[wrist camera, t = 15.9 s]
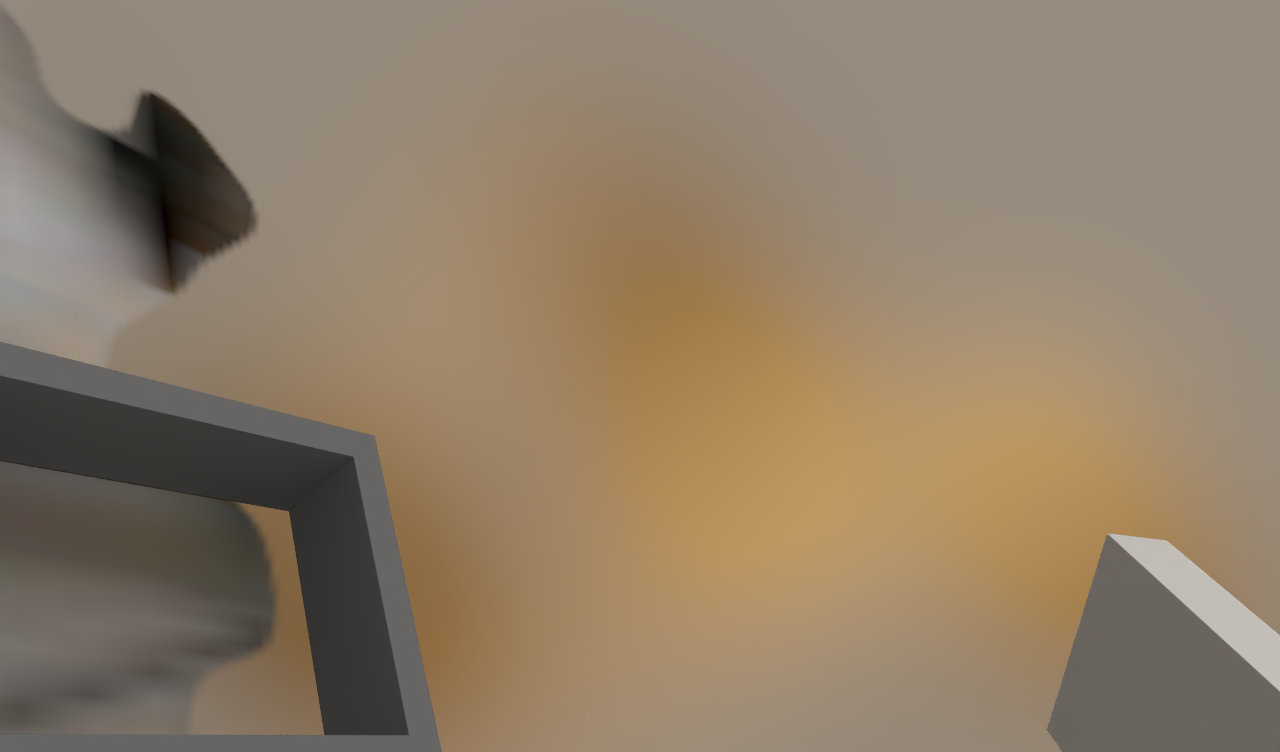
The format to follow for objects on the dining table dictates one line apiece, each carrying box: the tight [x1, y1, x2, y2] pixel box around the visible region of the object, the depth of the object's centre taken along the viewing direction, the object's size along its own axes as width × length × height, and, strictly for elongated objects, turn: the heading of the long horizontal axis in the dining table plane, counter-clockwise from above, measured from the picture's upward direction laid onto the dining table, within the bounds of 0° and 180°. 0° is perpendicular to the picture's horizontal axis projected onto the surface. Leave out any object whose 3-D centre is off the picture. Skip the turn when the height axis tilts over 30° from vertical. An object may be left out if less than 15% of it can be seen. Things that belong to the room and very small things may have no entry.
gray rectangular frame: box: [0, 342, 442, 752], centre depth 42 cm, size 16×20×5 cm
